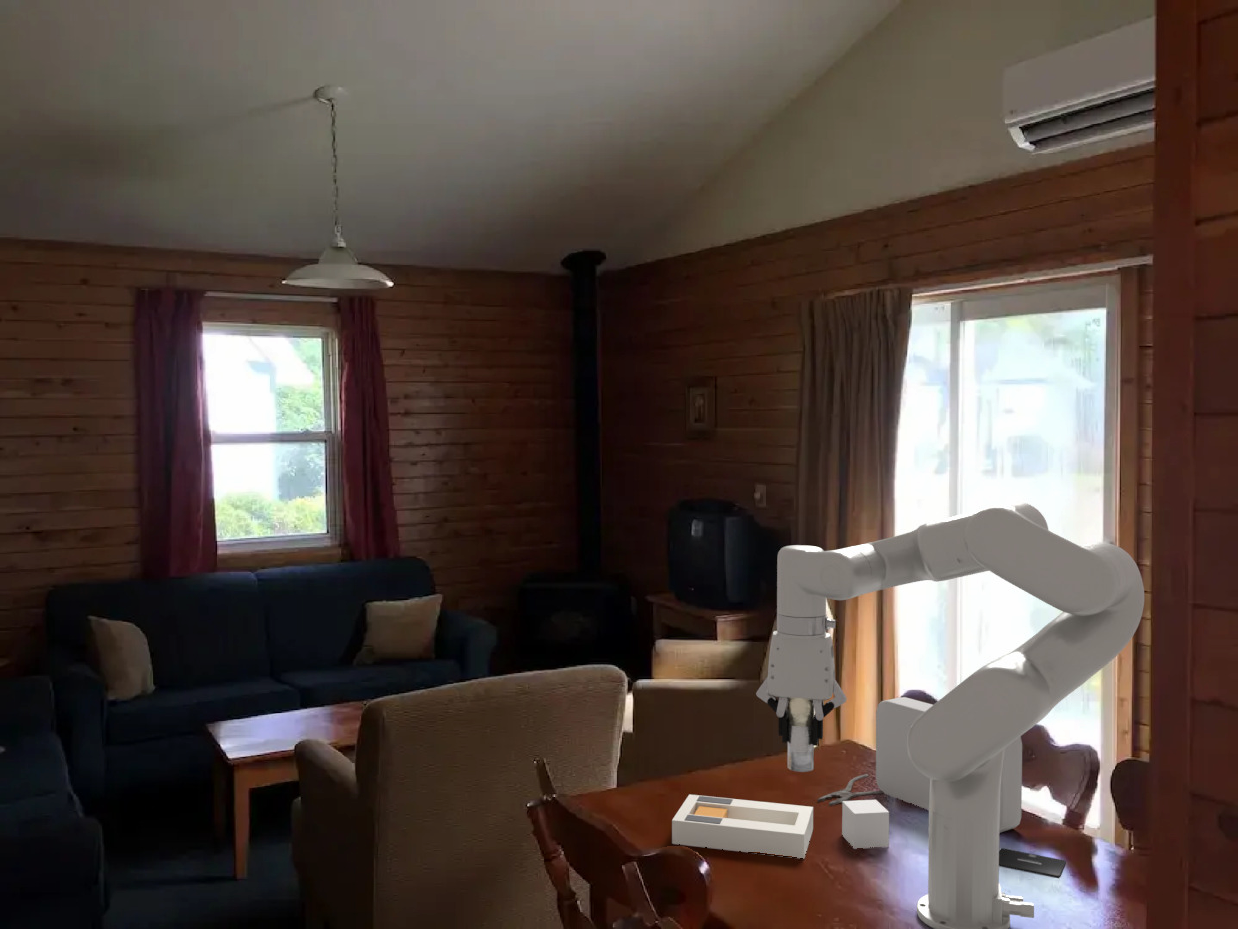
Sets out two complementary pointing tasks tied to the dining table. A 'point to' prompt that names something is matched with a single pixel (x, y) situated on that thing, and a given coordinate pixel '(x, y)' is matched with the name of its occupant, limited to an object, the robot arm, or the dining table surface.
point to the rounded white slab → (913, 786)
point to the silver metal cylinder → (800, 735)
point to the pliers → (847, 793)
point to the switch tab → (712, 812)
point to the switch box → (745, 826)
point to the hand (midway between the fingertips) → (800, 740)
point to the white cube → (865, 824)
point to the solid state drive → (1031, 862)
